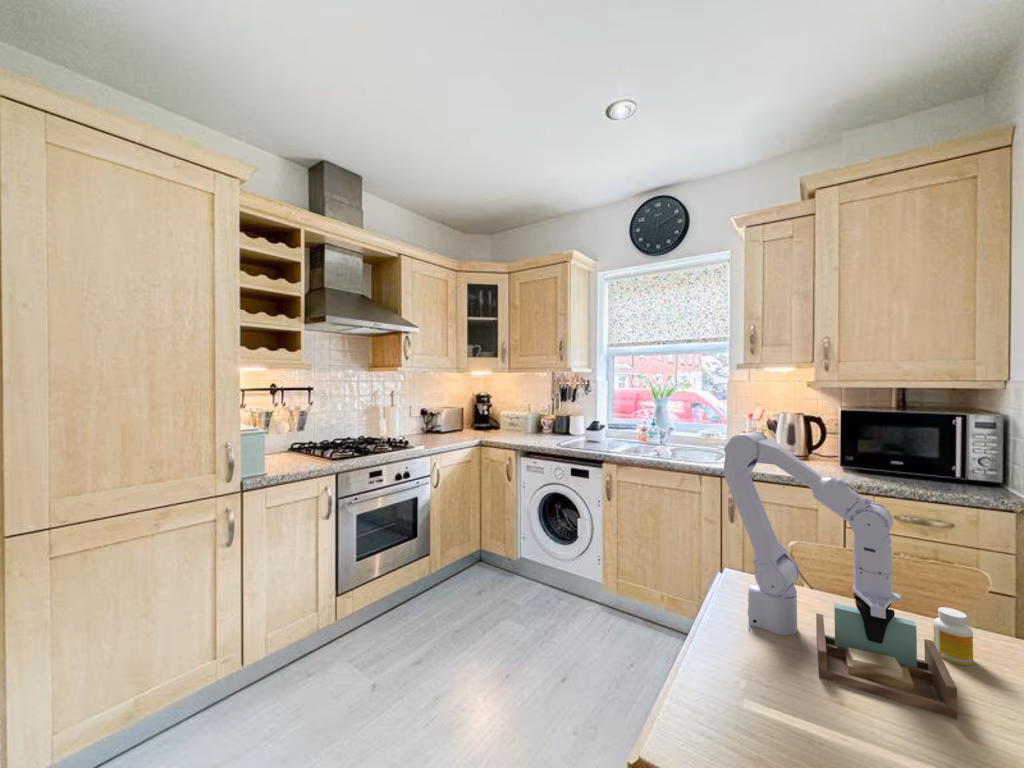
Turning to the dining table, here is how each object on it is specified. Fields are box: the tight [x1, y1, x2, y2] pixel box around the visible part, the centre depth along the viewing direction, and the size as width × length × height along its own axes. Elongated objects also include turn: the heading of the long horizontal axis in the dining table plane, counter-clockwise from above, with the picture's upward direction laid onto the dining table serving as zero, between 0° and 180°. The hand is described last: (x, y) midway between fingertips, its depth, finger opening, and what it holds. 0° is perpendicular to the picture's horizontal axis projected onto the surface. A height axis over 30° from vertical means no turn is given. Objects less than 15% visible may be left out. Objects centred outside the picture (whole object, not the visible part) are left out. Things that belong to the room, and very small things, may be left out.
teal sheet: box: [833, 603, 918, 668], centre depth 83 cm, size 12×2×9 cm, turn 56°
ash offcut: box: [848, 648, 903, 679], centre depth 79 cm, size 7×4×2 cm, turn 64°
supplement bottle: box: [933, 606, 974, 667], centre depth 83 cm, size 5×5×10 cm
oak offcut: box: [846, 652, 914, 693], centre depth 78 cm, size 9×5×2 cm, turn 56°
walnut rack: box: [815, 613, 958, 721], centre depth 79 cm, size 18×15×6 cm
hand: (873, 637), depth 83 cm, fingers closed on teal sheet, 2 cm apart
